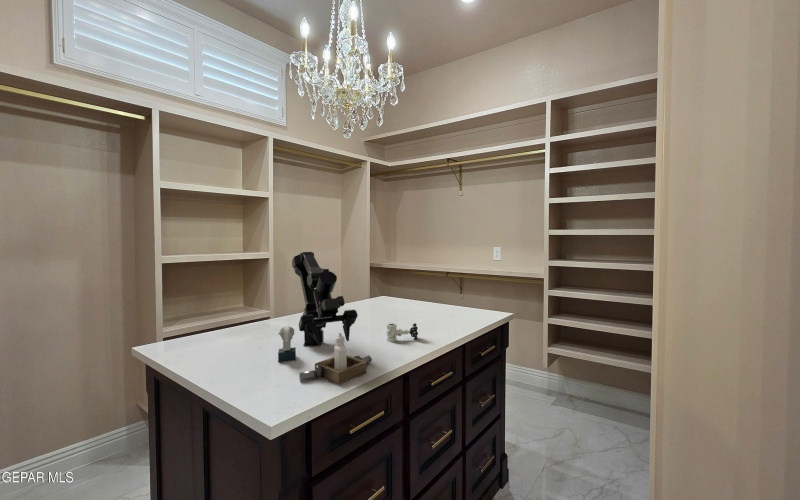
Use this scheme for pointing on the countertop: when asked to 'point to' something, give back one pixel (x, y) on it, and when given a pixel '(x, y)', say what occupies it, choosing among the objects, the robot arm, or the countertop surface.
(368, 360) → the input shaft
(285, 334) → the rubber stamp
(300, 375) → the output shaft
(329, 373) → the square brown wooden tray
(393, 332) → the valve
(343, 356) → the white bottle
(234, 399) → the countertop surface
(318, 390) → the countertop surface
